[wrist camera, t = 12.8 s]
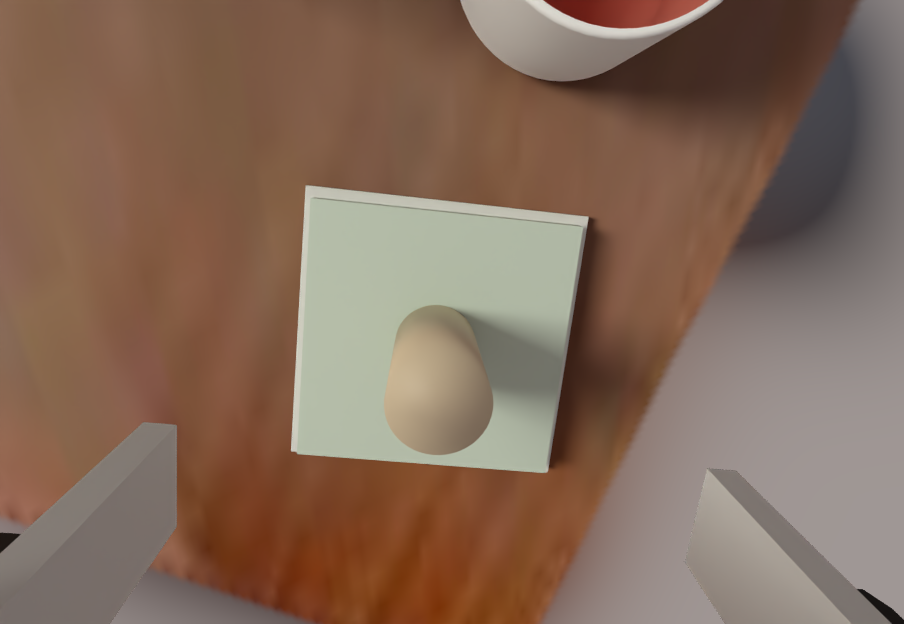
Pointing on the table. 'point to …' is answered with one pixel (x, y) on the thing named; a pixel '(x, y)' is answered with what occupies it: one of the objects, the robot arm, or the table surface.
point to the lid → (433, 335)
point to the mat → (424, 204)
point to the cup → (576, 32)
